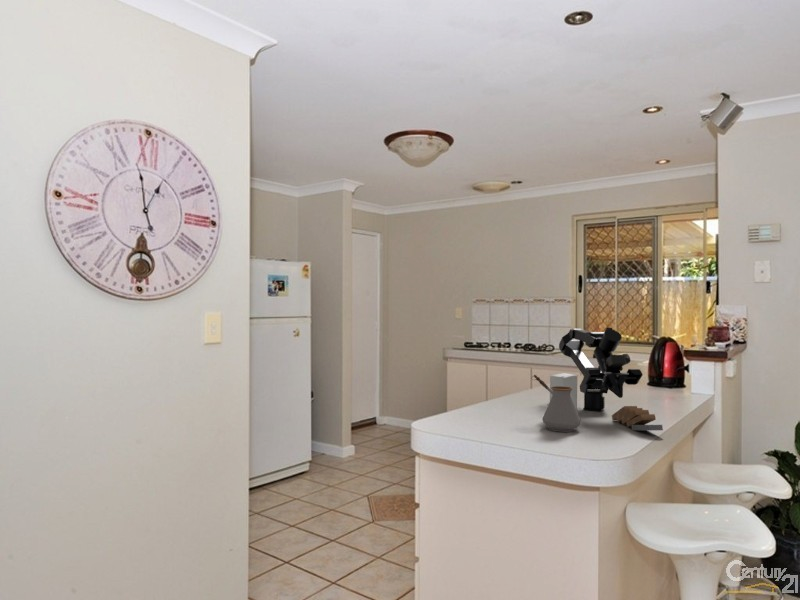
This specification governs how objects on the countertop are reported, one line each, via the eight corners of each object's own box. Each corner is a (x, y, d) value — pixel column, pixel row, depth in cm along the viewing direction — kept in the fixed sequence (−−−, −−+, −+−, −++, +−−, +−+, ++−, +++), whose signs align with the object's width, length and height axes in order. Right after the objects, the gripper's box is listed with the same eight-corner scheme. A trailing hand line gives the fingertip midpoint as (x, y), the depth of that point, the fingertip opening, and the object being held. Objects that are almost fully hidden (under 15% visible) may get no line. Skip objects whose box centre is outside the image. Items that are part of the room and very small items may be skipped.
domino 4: (626, 421, 171) (641, 414, 162) (639, 421, 172) (654, 414, 163) (627, 427, 171) (642, 419, 162) (640, 426, 171) (655, 419, 162)
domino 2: (616, 417, 178) (629, 408, 169) (628, 417, 178) (642, 407, 170) (617, 422, 177) (630, 413, 169) (629, 422, 178) (643, 412, 169)
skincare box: (562, 414, 189) (563, 372, 189) (578, 417, 185) (578, 374, 185) (548, 417, 184) (548, 374, 184) (563, 421, 179) (564, 376, 179)
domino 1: (611, 415, 182) (624, 406, 173) (623, 415, 182) (636, 406, 173) (612, 420, 181) (625, 410, 172) (624, 420, 181) (638, 410, 172)
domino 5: (631, 424, 168) (648, 424, 158) (644, 424, 169) (662, 424, 159) (632, 430, 168) (649, 430, 158) (645, 430, 168) (662, 430, 158)
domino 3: (621, 419, 175) (635, 410, 166) (633, 419, 175) (648, 409, 166) (622, 424, 174) (636, 415, 165) (635, 424, 174) (649, 415, 166)
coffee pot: (588, 432, 164) (589, 382, 164) (556, 434, 160) (557, 384, 161) (547, 417, 184) (548, 373, 184) (518, 419, 181) (518, 375, 181)
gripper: (587, 345, 184) (601, 382, 173) (640, 345, 185) (657, 382, 174) (577, 365, 192) (591, 402, 181) (628, 365, 193) (644, 402, 182)
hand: (621, 397), depth 179 cm, fingers closed
